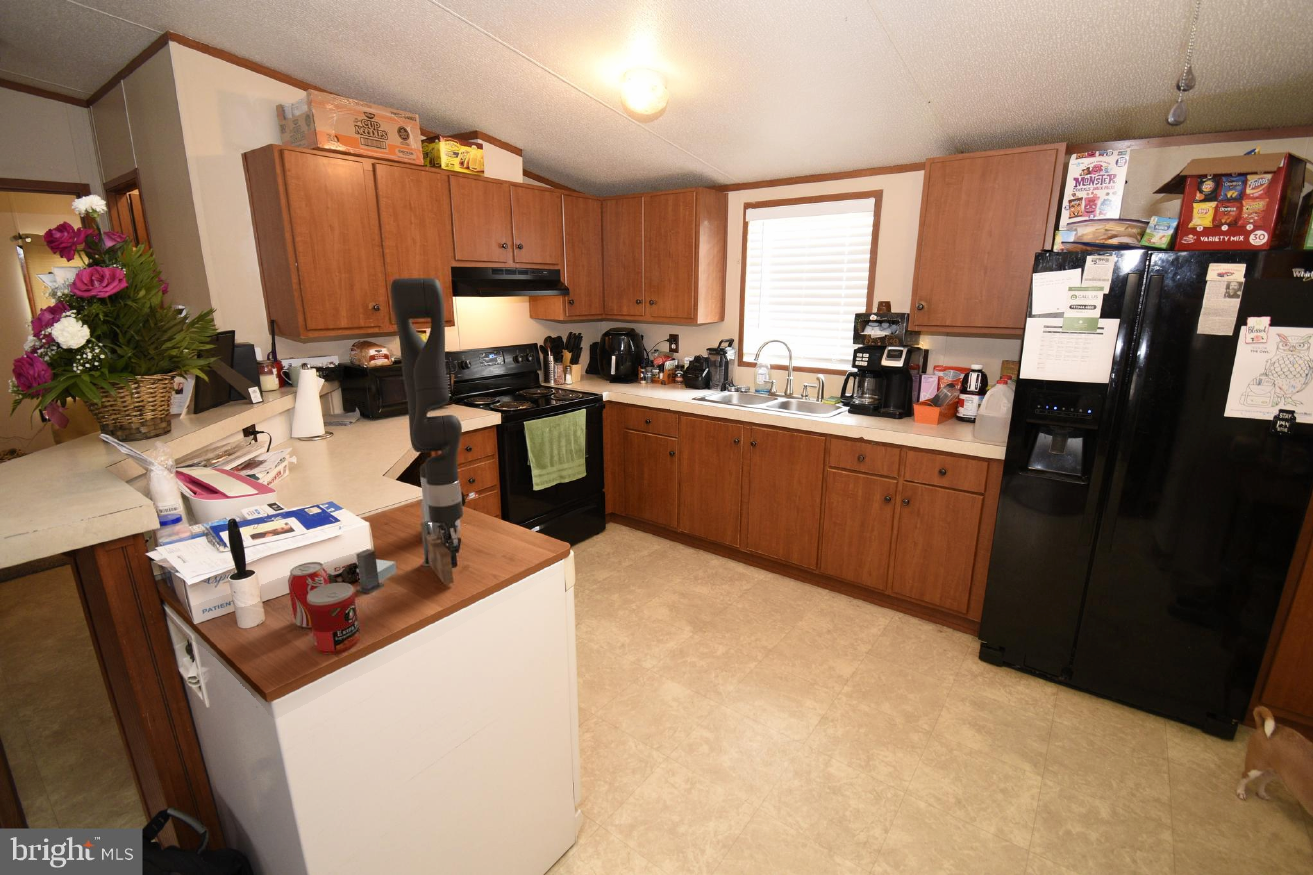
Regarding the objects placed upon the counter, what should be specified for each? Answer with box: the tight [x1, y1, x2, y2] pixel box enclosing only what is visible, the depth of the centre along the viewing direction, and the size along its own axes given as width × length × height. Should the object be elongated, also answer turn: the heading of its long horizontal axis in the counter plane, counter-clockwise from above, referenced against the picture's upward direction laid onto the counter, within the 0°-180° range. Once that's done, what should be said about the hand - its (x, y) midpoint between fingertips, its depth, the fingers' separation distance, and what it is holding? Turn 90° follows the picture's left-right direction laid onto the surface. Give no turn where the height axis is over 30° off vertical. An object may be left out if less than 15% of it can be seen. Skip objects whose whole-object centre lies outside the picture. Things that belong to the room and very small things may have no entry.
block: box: [356, 558, 397, 583], centre depth 137 cm, size 6×6×3 cm
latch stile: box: [355, 548, 385, 595], centre depth 130 cm, size 4×4×9 cm
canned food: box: [307, 582, 361, 655], centre depth 109 cm, size 8×8×11 cm
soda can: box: [287, 561, 330, 628], centre depth 116 cm, size 7×7×12 cm
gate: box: [425, 534, 454, 586], centre depth 136 cm, size 14×2×7 cm, turn 36°
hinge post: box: [420, 521, 433, 568], centre depth 142 cm, size 4×4×11 cm
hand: (452, 566), depth 137 cm, fingers closed
